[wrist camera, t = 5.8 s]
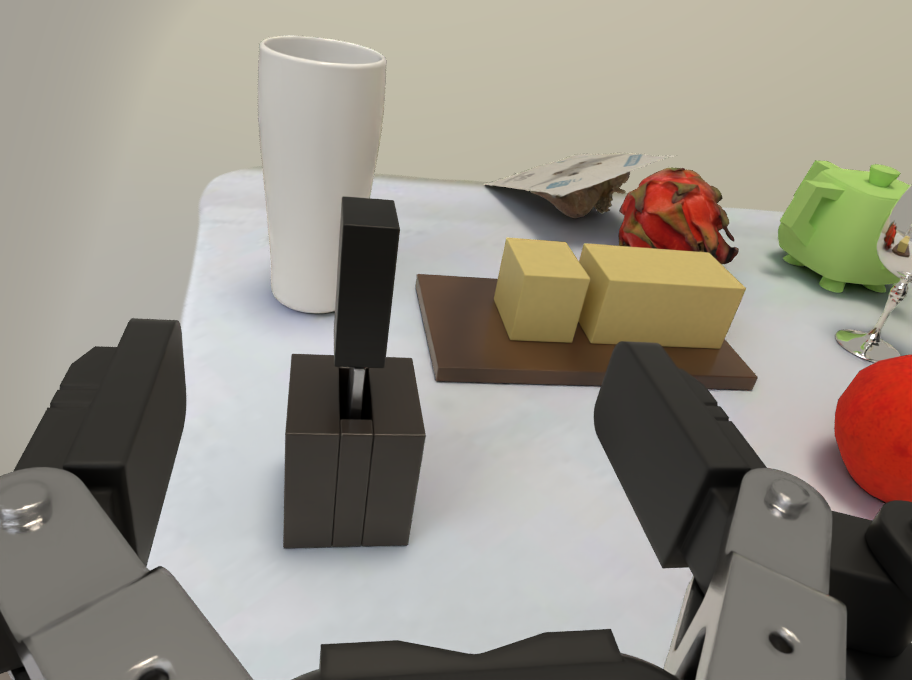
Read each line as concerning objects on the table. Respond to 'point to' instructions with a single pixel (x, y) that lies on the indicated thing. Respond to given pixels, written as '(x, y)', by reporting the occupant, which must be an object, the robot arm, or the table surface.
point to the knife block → (351, 455)
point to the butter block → (657, 297)
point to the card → (579, 180)
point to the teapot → (841, 224)
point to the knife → (364, 290)
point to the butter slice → (540, 290)
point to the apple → (878, 429)
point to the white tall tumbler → (315, 155)
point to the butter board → (535, 344)
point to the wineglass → (908, 257)
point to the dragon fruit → (676, 215)
